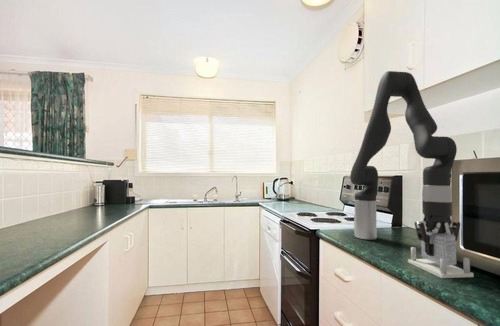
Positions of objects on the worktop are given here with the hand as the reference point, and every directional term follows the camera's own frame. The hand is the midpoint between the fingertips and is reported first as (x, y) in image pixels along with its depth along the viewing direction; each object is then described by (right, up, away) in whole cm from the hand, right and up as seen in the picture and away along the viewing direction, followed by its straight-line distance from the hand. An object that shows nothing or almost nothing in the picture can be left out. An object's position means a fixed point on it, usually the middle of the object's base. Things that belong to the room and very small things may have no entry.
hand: (437, 254), depth 79 cm
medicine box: (0, -2, 0) cm, 2 cm away
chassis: (0, -4, 0) cm, 4 cm away
